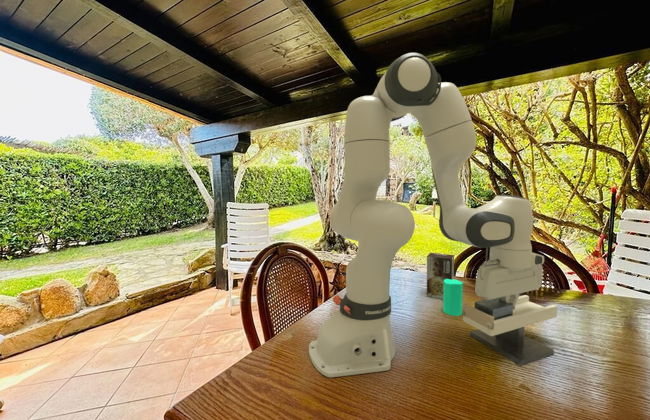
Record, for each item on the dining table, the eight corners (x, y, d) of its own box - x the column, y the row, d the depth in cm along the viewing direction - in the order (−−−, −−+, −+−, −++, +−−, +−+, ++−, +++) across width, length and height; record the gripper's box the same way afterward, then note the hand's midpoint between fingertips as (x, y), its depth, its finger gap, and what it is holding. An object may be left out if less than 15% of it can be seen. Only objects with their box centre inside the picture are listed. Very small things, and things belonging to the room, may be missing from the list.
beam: (491, 336, 63) (491, 317, 62) (463, 320, 70) (463, 304, 70) (556, 316, 71) (557, 300, 70) (525, 304, 78) (525, 290, 78)
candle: (464, 316, 87) (465, 280, 86) (445, 315, 88) (445, 279, 87) (459, 308, 92) (460, 274, 92) (441, 307, 94) (441, 273, 93)
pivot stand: (520, 365, 62) (521, 339, 62) (469, 335, 76) (470, 313, 75) (553, 354, 66) (555, 329, 66) (499, 327, 80) (500, 306, 79)
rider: (492, 325, 65) (492, 309, 64) (474, 316, 69) (474, 301, 69) (512, 319, 67) (512, 304, 67) (493, 311, 72) (494, 297, 71)
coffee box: (453, 295, 104) (455, 254, 102) (451, 301, 98) (452, 258, 97) (429, 291, 109) (430, 252, 107) (425, 296, 103) (426, 255, 102)
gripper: (492, 265, 62) (490, 322, 63) (548, 256, 69) (546, 307, 70) (469, 259, 68) (468, 311, 69) (523, 251, 75) (521, 298, 76)
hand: (508, 309), depth 70 cm, fingers closed
